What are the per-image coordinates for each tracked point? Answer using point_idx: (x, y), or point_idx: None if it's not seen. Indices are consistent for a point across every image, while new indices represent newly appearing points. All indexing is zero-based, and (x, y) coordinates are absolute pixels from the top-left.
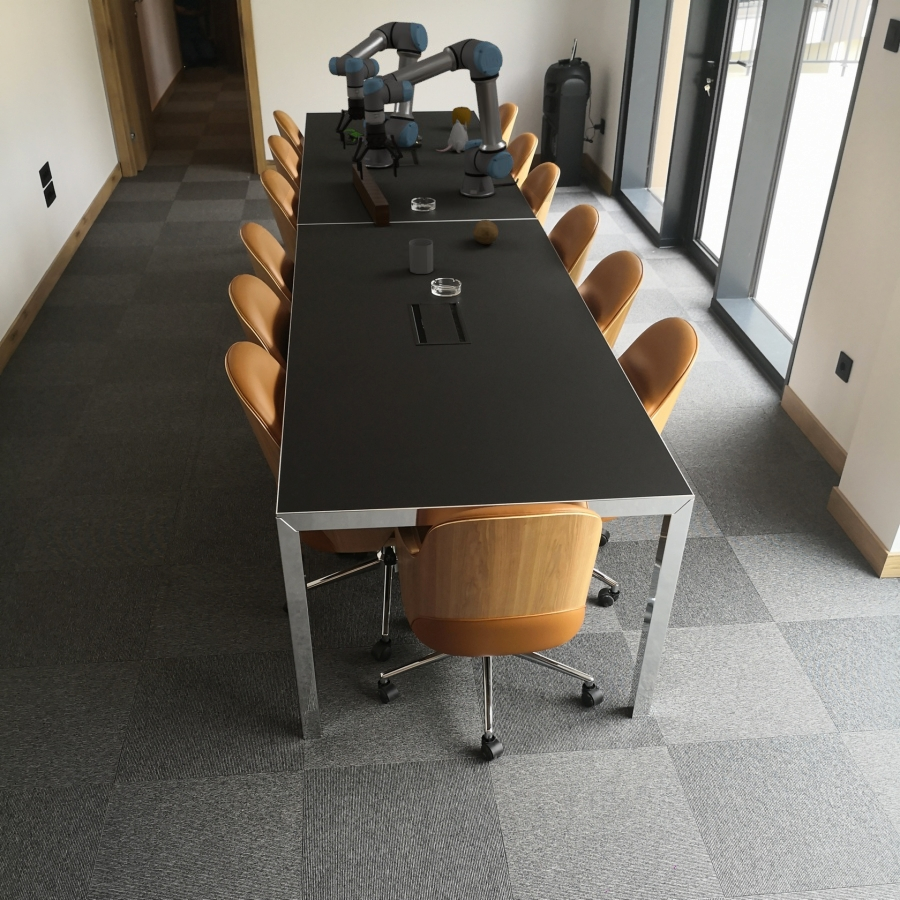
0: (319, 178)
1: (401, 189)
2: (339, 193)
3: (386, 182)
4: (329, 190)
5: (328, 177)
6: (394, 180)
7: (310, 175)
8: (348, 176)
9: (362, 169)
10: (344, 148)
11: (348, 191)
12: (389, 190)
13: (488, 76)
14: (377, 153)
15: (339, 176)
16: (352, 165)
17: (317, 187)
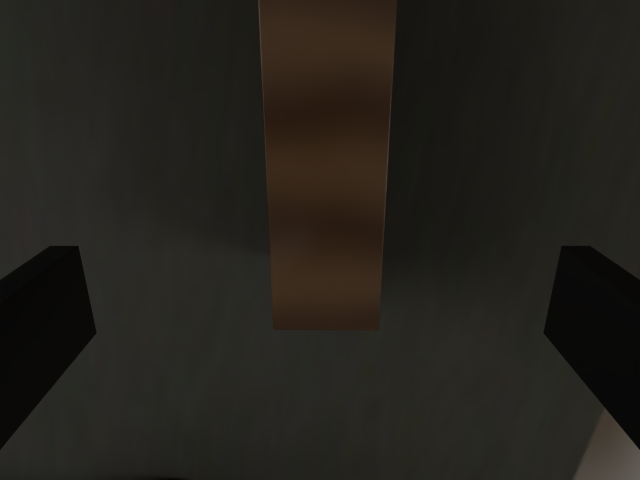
0: (542, 393)
1: (26, 14)
2: (522, 19)
3: (141, 225)
4: (569, 123)
5: (485, 400)
6: (86, 257)
7: (571, 453)
8: (366, 394)
9: (314, 129)
10: (586, 253)
11: (441, 60)
12: (123, 8)
13: None
14: None
15: (417, 405)
16: (380, 298)
17: (622, 216)
